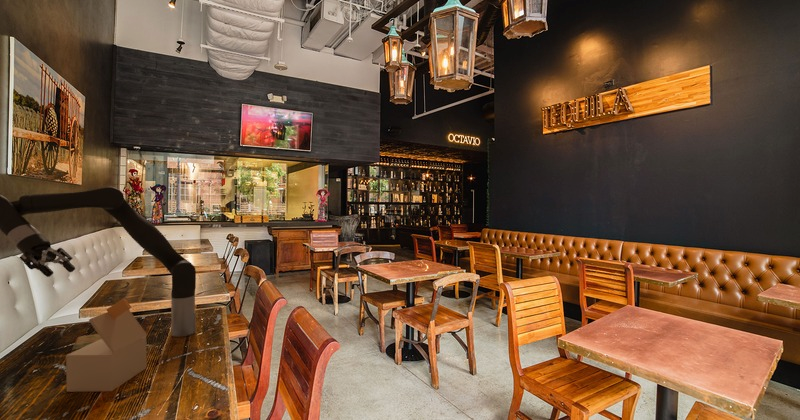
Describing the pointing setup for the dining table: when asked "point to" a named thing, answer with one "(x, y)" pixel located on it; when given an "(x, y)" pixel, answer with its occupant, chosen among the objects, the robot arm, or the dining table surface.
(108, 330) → the tan box lid
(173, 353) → the dining table surface
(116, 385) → the cardboard box
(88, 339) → the carton
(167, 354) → the dining table surface
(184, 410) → the dining table surface
